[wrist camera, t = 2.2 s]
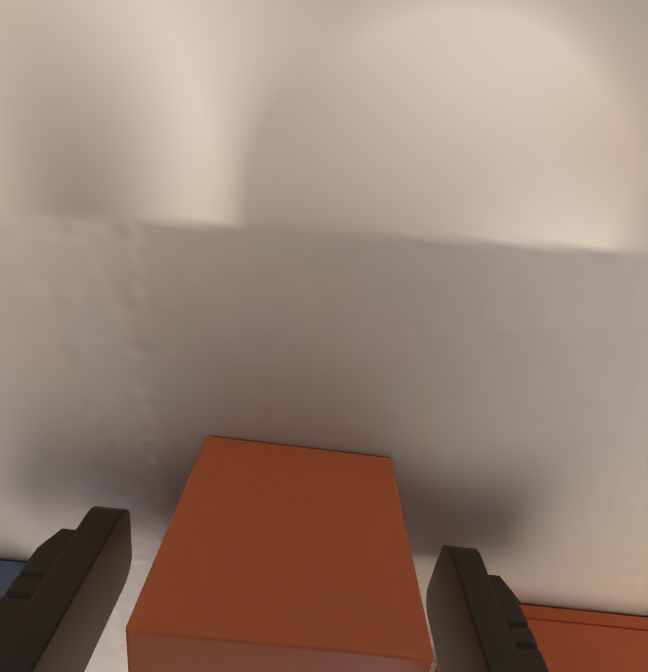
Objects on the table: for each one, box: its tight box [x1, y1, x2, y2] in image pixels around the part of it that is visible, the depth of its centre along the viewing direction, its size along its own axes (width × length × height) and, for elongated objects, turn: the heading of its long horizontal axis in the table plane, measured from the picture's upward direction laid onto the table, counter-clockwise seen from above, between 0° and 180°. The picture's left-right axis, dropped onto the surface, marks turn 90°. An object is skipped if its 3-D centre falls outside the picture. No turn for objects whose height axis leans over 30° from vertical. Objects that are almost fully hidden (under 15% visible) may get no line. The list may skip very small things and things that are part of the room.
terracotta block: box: [126, 436, 434, 672], centre depth 9 cm, size 4×4×4 cm
